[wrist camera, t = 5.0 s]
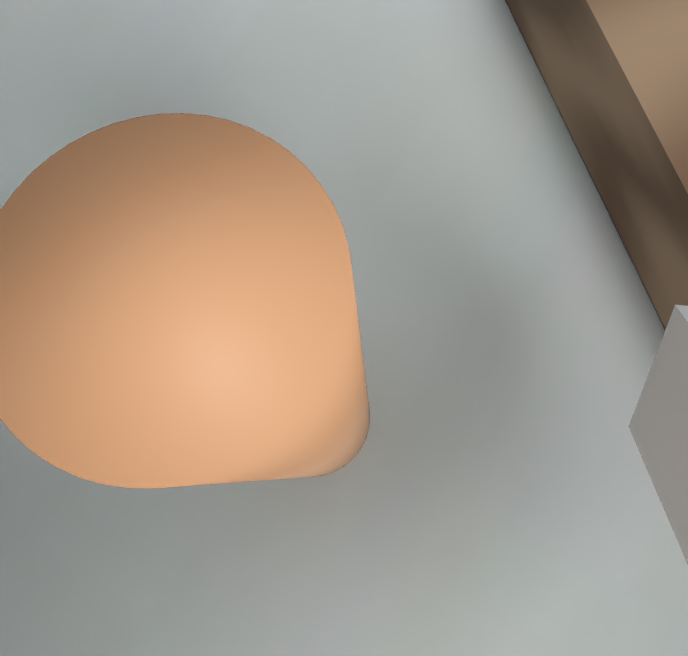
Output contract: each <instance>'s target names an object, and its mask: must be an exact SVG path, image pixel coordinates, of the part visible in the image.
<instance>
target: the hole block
mask: <svg viewBox="0 0 688 656" xmlns="http://www.w3.org/2000/svg"><path fill="white" fill-rule="evenodd" d="M506 2H507V4H508V6H509V8H510V10H511V12H512V14H513V16H514V18H515V20H516V22H517V24H518V27H519V29H520V31H521V33H522V35H523V37H524V39H525V41H526V43H527V45H528V47H529V49H530V51H531V53H532V55H533V57H534V59H535V62H536V64H537V66H538V68H539V70H540V72H541V74H542V76H543V78H544V80H545V82H546V84H547V86H548V88H549V90H550V92H551V94H552V97H553V99H554V101H555V103H556V105H557V107H558V109H559V111H560V113H561V115H562V117H563V119H564V121H565V123H566V125H567V127H568V129H569V132H570V134H571V136H572V138H573V140H574V142H575V144H576V146H577V148H578V150H579V152H580V154H581V156H582V158H583V160H584V162H585V164H586V167H587V169H588V171H589V173H590V175H591V177H592V179H593V181H594V183H595V185H596V187H597V189H598V191H599V193H600V195H601V197H602V200H603V202H604V204H605V206H606V208H607V210H608V212H609V214H610V216H611V218H612V220H613V222H614V224H615V226H616V228H617V230H618V232H619V235H620V237H621V239H622V241H623V243H624V245H625V247H626V249H627V251H628V253H629V255H630V257H631V259H632V261H633V263H634V265H635V267H636V270H637V272H638V274H639V276H640V278H641V280H642V282H643V284H644V286H645V288H646V290H647V292H648V294H649V296H650V298H651V300H652V302H653V305H654V307H655V309H656V311H657V313H658V315H659V317H660V319H661V321H662V323H663V325H664V327H665V329H666V327H667V325H668V322H669V320H670V317H671V314H672V312H673V309H674V306H675V305H684V306H688V0H506Z"/></svg>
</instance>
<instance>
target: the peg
mask: <svg viewBox="0 0 688 656" xmlns="http://www.w3.org/2000/svg"><path fill="white" fill-rule="evenodd" d="M0 419H1V420H2V421H3V423H4V424H5V425H6V426H7V427H8V429H9V430H10V431H11V432H12V433H13V434H14V436H15V437H16V438H18V439H19V440H20V441H21V442H22V443H23V444H24V445H25V446H27V447H28V448H29V449H30V450H31V451H32V452H33V453H35V454H36V455H38V456H39V457H41V458H43V459H44V460H46V461H47V462H49V463H50V464H52V465H53V466H55V467H57V468H59V469H61V470H64V471H66V472H68V473H70V474H72V475H75V476H77V477H79V478H83V479H86V480H90V481H93V482H96V483H100V484H103V485H110V486H117V487H125V488H167V487H180V486H194V485H207V484H220V483H234V482H247V481H261V480H274V479H287V478H301V477H314V476H322V475H326V474H329V473H332V472H334V471H337V470H338V469H340V468H342V467H344V466H345V465H346V464H347V463H349V462H350V461H351V460H352V459H353V458H354V457H355V456H356V454H357V453H358V452H359V450H360V449H361V447H362V445H363V444H364V441H365V439H366V436H367V433H368V429H369V422H370V411H369V403H368V395H367V387H366V378H365V370H364V362H363V354H362V346H361V337H360V329H359V321H358V313H357V305H356V296H355V288H354V280H353V272H352V265H351V258H350V251H349V246H348V242H347V239H346V235H345V232H344V228H343V225H342V222H341V220H340V218H339V216H338V213H337V211H336V209H335V207H334V205H333V203H332V201H331V199H330V198H329V196H328V195H327V193H326V191H325V190H324V188H323V187H322V185H321V184H320V182H319V181H318V180H317V179H316V178H315V176H314V175H313V174H312V173H311V172H310V170H309V169H308V168H307V167H306V166H305V165H304V164H303V163H302V162H301V161H300V160H299V159H297V158H296V157H295V156H294V155H293V154H292V153H291V152H290V151H288V150H287V149H286V148H284V147H283V146H281V145H280V144H278V143H277V142H275V141H274V140H272V139H271V138H269V137H267V136H265V135H263V134H261V133H259V132H257V131H255V130H253V129H251V128H249V127H246V126H243V125H240V124H238V123H235V122H232V121H229V120H225V119H220V118H215V117H211V116H206V115H195V114H184V113H178V114H157V115H150V116H143V117H136V118H133V119H129V120H125V121H121V122H118V123H114V124H111V125H109V126H106V127H103V128H101V129H98V130H96V131H93V132H91V133H89V134H87V135H85V136H83V137H81V138H79V139H78V140H76V141H74V142H72V143H70V144H68V145H67V146H66V147H64V148H63V149H61V150H60V151H58V152H57V153H55V154H54V155H52V156H51V157H49V158H48V159H47V160H46V161H45V162H44V163H42V164H41V165H40V166H39V167H38V168H37V169H35V170H34V171H33V172H32V173H31V174H30V175H29V176H28V177H27V178H26V179H25V180H24V181H23V183H22V184H21V185H20V186H19V187H18V188H17V189H16V190H15V191H14V192H13V194H12V195H11V197H10V198H9V199H8V201H7V202H6V203H5V205H4V206H3V207H2V209H1V210H0Z"/></svg>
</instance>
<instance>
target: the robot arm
mask: <svg viewBox="0 0 688 656" xmlns="http://www.w3.org/2000/svg"><path fill="white" fill-rule="evenodd" d="M629 428H630V431H631V433H632V435H633V438H634V440H635V442H636V445H637V447H638V449H639V452H640V454H641V456H642V459H643V461H644V463H645V466H646V468H647V470H648V473H649V475H650V477H651V480H652V482H653V484H654V487H655V489H656V491H657V494H658V496H659V498H660V501H661V503H662V505H663V508H664V510H665V512H666V515H667V517H668V519H669V522H670V524H671V526H672V529H673V531H674V533H675V536H676V538H677V540H678V543H679V545H680V547H681V550H682V552H683V554H684V557H685V559H686V561H687V564H688V306H684V305H675V306H674V309H673V312H672V314H671V317H670V320H669V322H668V325H667V327H666V330H665V333H664V335H663V338H662V341H661V343H660V346H659V348H658V351H657V354H656V356H655V359H654V362H653V364H652V367H651V369H650V372H649V375H648V377H647V380H646V383H645V385H644V388H643V390H642V393H641V396H640V398H639V401H638V404H637V406H636V409H635V411H634V414H633V417H632V419H631V422H630V425H629Z"/></svg>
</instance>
